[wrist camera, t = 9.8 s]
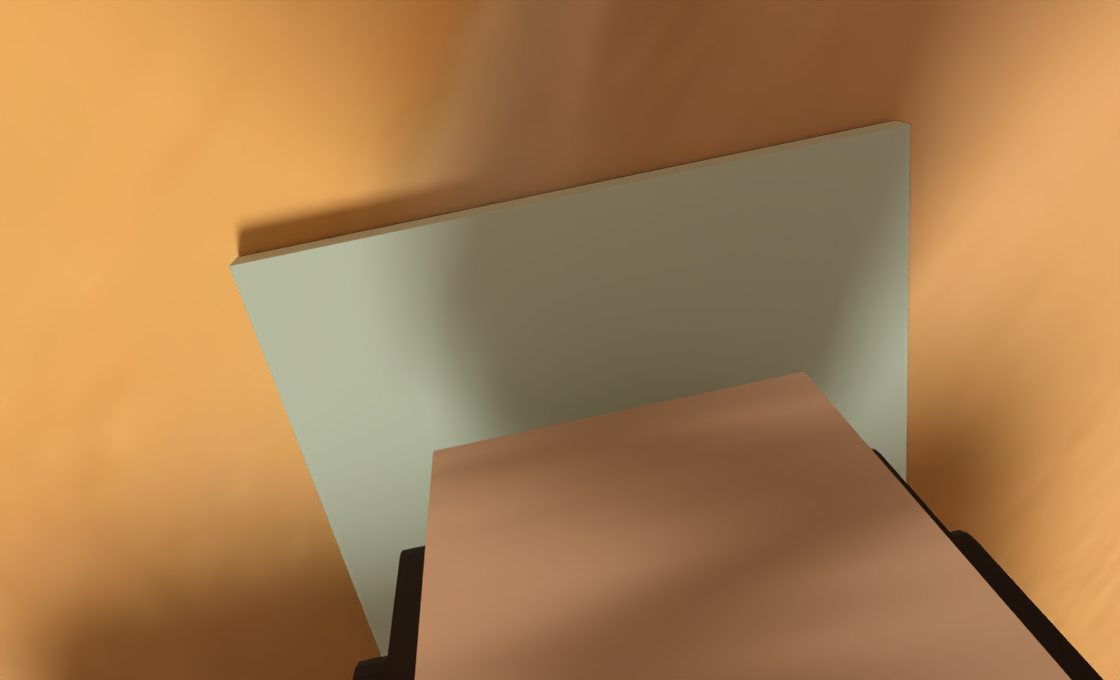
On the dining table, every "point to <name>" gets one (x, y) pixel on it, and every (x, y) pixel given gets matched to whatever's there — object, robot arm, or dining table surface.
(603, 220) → the panel
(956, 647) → the block
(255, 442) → the dining table surface
